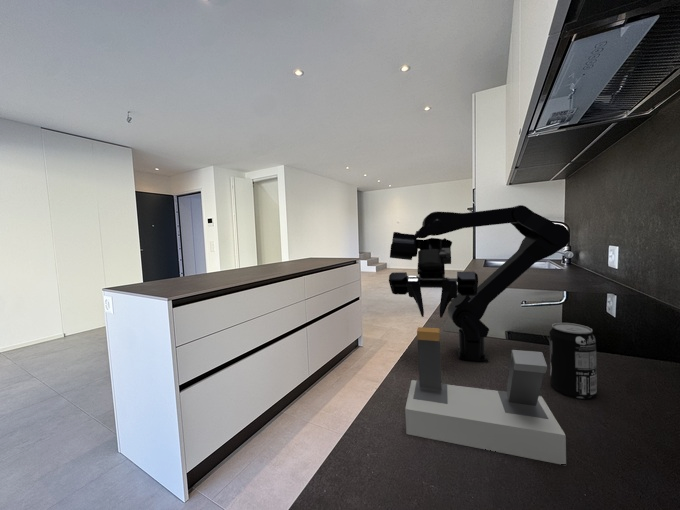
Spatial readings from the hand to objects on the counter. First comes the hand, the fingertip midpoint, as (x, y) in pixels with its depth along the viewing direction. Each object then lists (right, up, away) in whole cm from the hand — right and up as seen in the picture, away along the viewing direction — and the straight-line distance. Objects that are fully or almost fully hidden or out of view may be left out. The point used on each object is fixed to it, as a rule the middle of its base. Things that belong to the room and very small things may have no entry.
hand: (431, 316), depth 57 cm
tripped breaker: (-4, -10, -11) cm, 15 cm away
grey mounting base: (+2, -14, -14) cm, 20 cm away
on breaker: (+8, -9, -16) cm, 20 cm away
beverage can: (+25, -13, -6) cm, 28 cm away
